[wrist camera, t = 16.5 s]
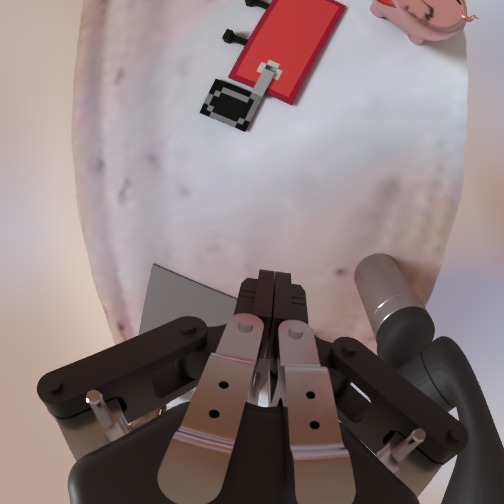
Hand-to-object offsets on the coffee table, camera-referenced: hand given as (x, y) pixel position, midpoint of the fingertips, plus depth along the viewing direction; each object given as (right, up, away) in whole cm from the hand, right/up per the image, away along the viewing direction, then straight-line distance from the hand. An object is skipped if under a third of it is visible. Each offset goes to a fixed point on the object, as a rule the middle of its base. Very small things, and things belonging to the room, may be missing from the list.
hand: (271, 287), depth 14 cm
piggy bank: (+26, +45, +16) cm, 55 cm away
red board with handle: (+2, +35, +24) cm, 43 cm away
